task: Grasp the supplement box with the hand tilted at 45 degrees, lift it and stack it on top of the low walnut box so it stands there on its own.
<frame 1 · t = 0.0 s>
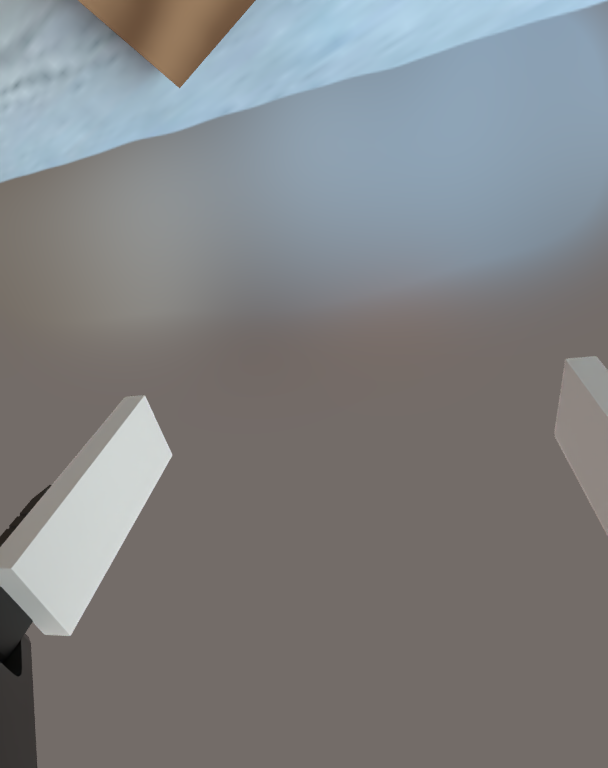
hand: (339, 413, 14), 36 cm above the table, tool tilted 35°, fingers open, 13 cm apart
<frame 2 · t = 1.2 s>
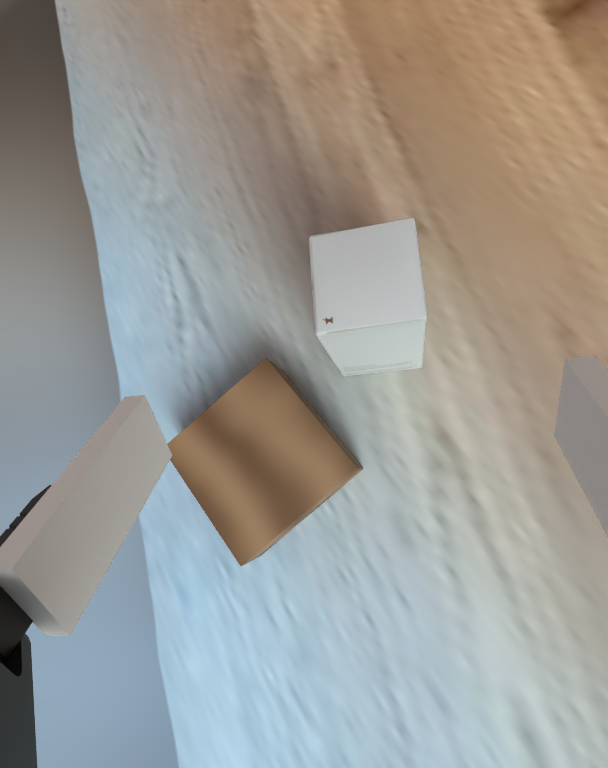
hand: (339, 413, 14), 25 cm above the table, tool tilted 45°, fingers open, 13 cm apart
walnut box: (272, 459, 40), on the table
supplement box: (378, 335, 40), on the table
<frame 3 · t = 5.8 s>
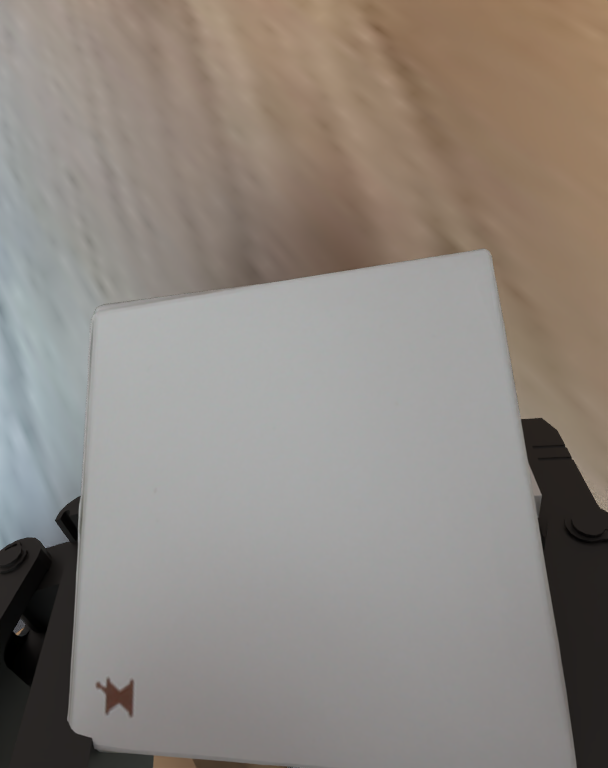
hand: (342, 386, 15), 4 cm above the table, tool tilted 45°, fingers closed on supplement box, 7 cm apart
walnut box: (131, 750, 19), on the table
supplement box: (361, 484, 19), on the table, touching gripper
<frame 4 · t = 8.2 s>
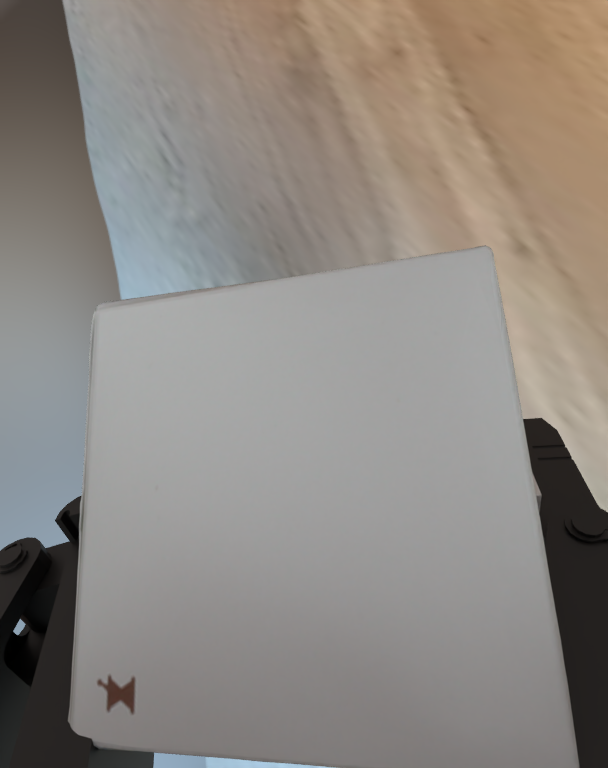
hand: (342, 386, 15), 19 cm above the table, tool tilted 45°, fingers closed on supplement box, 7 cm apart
supplement box: (361, 483, 19), point 14 cm above the table, touching gripper
when the fingers open (10 cm above the table, at t = 10.6 s): supplement box drops 2 cm, point 4 cm above the table.
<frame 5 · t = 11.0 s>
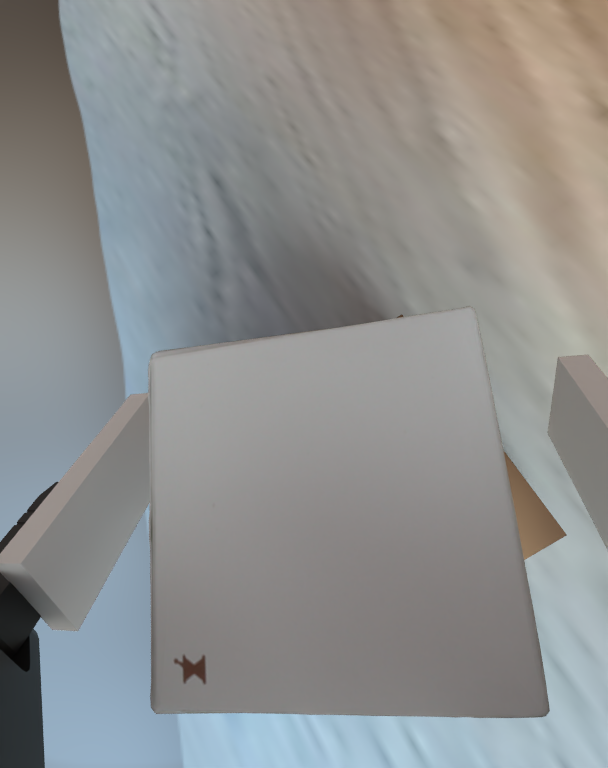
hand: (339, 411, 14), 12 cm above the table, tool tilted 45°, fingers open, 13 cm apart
walnut box: (374, 482, 25), on the table
supplement box: (367, 487, 20), point 4 cm above the table
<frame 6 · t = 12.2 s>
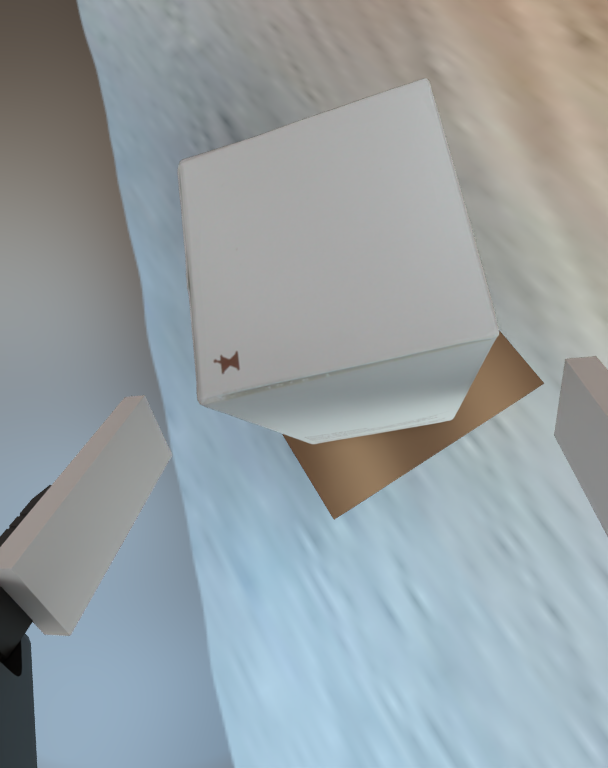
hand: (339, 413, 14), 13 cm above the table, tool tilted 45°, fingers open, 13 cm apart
walnut box: (374, 376, 28), on the table
supplement box: (368, 365, 23), point 4 cm above the table
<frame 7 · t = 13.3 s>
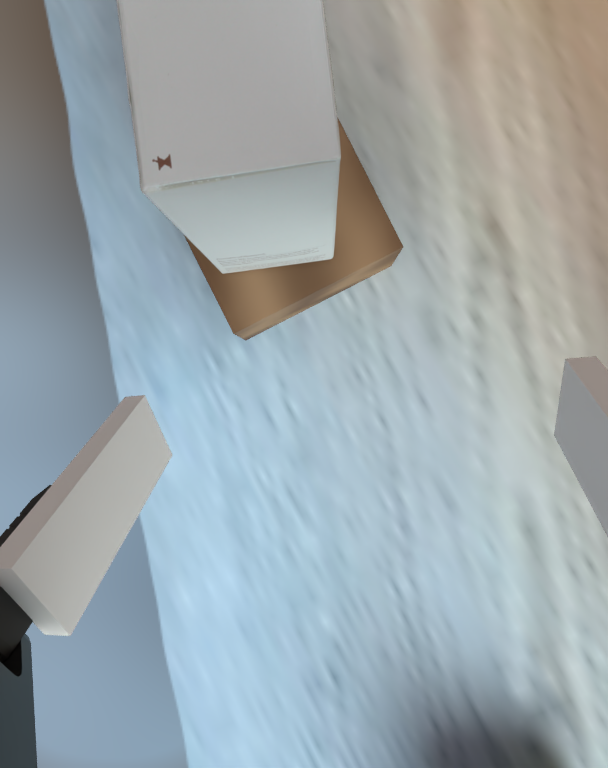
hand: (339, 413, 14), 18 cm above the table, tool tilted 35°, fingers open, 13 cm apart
walnut box: (281, 232, 33), on the table
supplement box: (271, 211, 28), point 4 cm above the table
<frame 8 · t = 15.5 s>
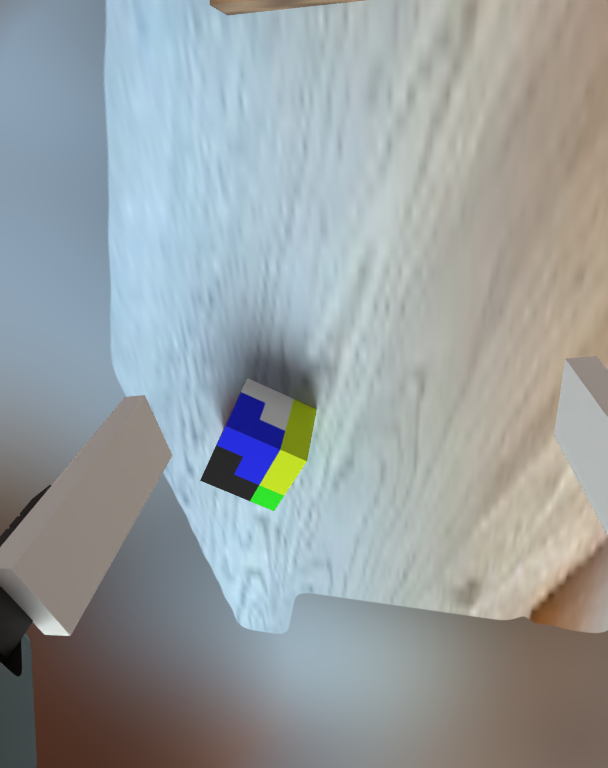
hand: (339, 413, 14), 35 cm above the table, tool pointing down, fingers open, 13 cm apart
puzzle toy: (268, 418, 60), on the table
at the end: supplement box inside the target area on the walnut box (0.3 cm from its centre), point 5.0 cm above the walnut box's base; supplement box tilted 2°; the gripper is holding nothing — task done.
